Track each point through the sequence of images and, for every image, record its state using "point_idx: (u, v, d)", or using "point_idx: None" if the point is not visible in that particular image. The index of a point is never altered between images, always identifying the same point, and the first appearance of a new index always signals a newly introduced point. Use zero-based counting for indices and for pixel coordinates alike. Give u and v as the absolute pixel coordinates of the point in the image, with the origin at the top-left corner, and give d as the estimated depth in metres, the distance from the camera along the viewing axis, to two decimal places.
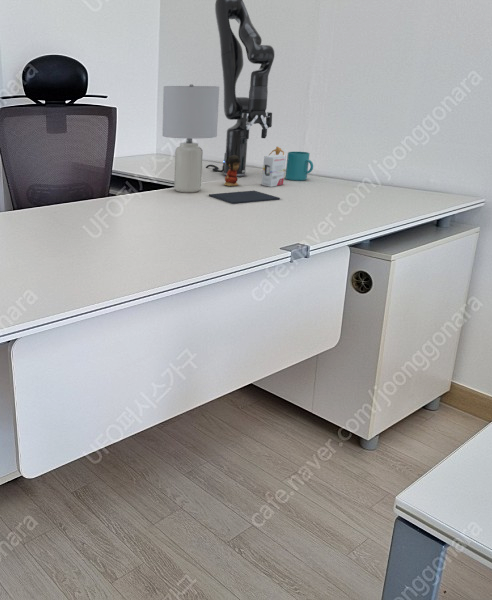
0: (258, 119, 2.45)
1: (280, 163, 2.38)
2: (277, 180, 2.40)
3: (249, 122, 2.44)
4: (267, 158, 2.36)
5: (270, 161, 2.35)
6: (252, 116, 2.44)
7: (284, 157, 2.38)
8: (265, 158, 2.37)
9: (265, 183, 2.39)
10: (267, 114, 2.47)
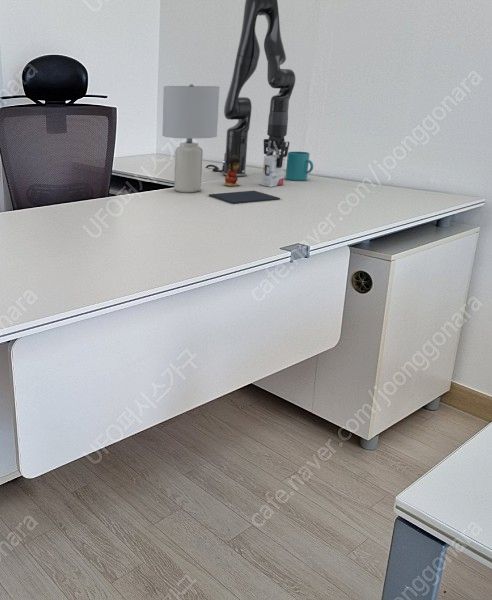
0: (274, 145, 2.36)
1: None
2: (277, 180, 2.40)
3: None
4: (267, 158, 2.36)
5: (270, 161, 2.35)
6: None
7: (284, 157, 2.38)
8: (265, 158, 2.37)
9: (265, 183, 2.39)
10: None
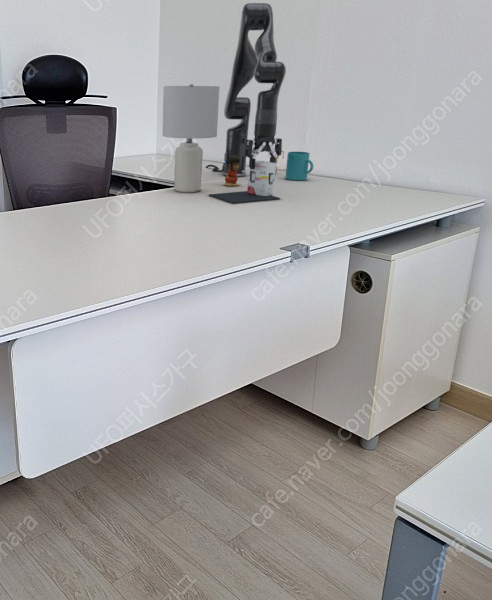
0: (266, 146, 2.12)
1: None
2: None
3: (255, 150, 2.12)
4: (271, 165, 2.12)
5: (273, 168, 2.13)
6: (259, 143, 2.11)
7: None
8: (269, 166, 2.12)
9: (268, 193, 2.16)
10: (276, 140, 2.14)
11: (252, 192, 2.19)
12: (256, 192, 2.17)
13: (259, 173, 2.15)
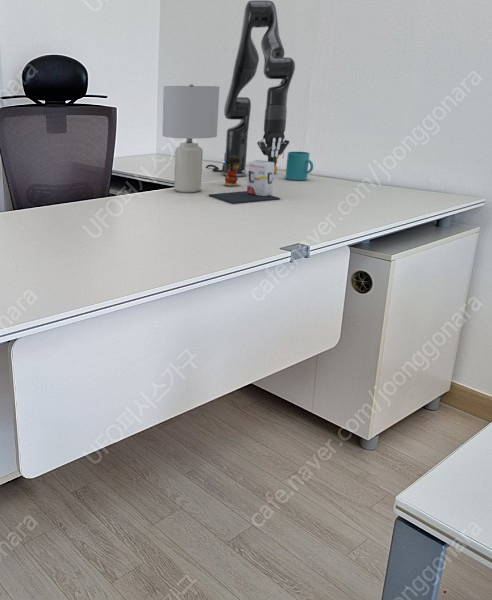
0: (276, 142, 2.13)
1: None
2: None
3: (270, 148, 2.13)
4: (270, 165, 2.11)
5: (272, 167, 2.13)
6: (269, 142, 2.12)
7: None
8: (267, 166, 2.11)
9: (268, 193, 2.16)
10: (284, 140, 2.15)
11: (252, 192, 2.19)
12: (255, 192, 2.17)
13: (257, 173, 2.14)
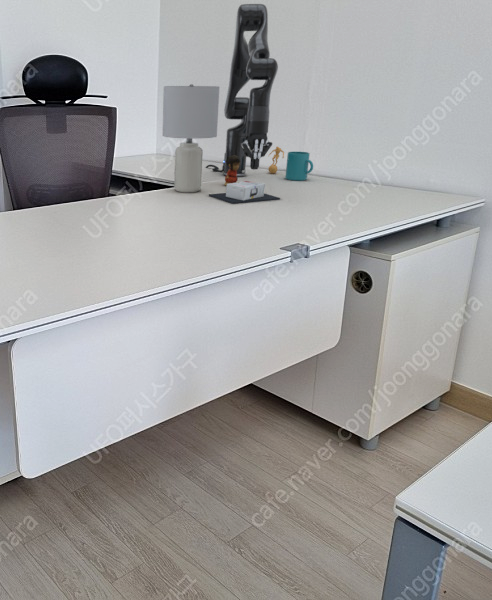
0: (258, 144, 2.10)
1: (238, 184, 2.11)
2: (252, 182, 2.15)
3: (253, 150, 2.11)
4: (245, 194, 2.07)
5: (247, 190, 2.07)
6: (252, 143, 2.09)
7: (229, 184, 2.11)
8: (245, 198, 2.08)
9: (263, 191, 2.14)
10: (267, 142, 2.12)
11: None
12: None
13: None
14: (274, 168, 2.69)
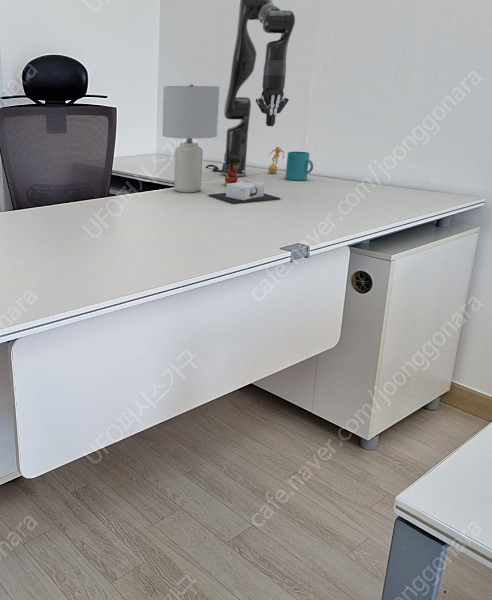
0: (274, 99, 2.07)
1: (238, 184, 2.11)
2: (252, 182, 2.15)
3: (269, 106, 2.08)
4: (245, 194, 2.07)
5: (247, 190, 2.08)
6: (268, 99, 2.06)
7: (229, 184, 2.11)
8: (245, 197, 2.08)
9: (263, 190, 2.14)
10: (283, 98, 2.09)
11: None
12: None
13: None
14: (274, 168, 2.69)
